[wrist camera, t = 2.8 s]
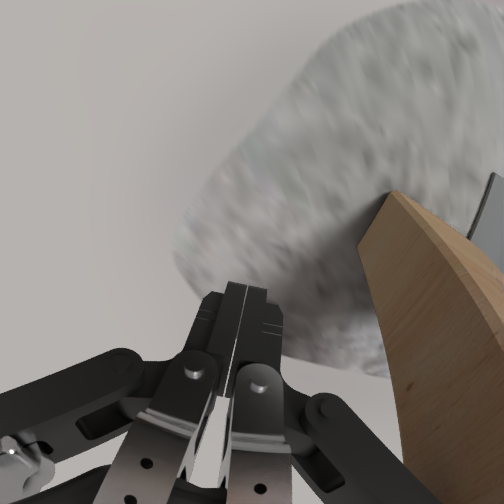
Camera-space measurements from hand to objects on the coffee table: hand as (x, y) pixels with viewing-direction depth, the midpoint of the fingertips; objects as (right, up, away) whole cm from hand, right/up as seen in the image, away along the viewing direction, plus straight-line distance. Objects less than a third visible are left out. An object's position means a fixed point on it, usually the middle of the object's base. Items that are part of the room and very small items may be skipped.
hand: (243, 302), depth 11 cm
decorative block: (+14, +2, +9) cm, 17 cm away
